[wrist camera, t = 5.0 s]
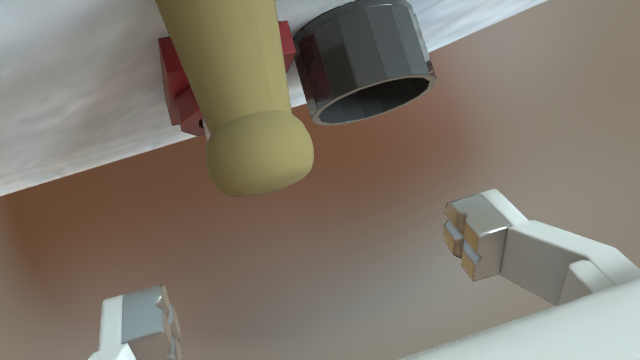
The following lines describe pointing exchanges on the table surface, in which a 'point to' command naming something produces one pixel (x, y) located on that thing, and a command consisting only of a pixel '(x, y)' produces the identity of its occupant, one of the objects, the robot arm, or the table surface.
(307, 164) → the olive yellow knobbed peg
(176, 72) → the panel
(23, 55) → the table surface
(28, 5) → the table surface
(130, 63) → the table surface
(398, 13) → the cup
